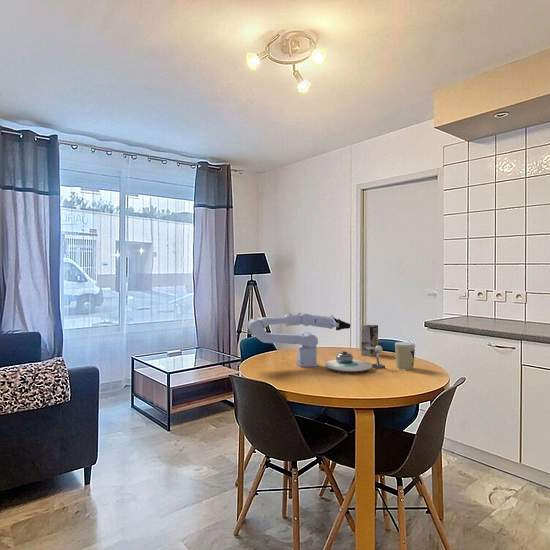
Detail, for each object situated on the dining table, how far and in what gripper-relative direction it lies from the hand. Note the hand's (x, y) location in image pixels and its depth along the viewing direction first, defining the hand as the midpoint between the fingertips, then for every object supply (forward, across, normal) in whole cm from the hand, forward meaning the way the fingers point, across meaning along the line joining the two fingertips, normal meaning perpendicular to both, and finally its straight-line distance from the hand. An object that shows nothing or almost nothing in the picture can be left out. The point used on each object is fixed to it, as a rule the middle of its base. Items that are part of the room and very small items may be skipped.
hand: (347, 325), depth 215 cm
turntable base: (-1, -13, +20) cm, 23 cm away
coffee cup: (+26, -17, +15) cm, 34 cm away
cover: (-1, -7, +17) cm, 19 cm away
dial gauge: (+12, -13, +17) cm, 25 cm away
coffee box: (+23, +17, +16) cm, 33 cm away
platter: (-1, -13, +18) cm, 22 cm away
